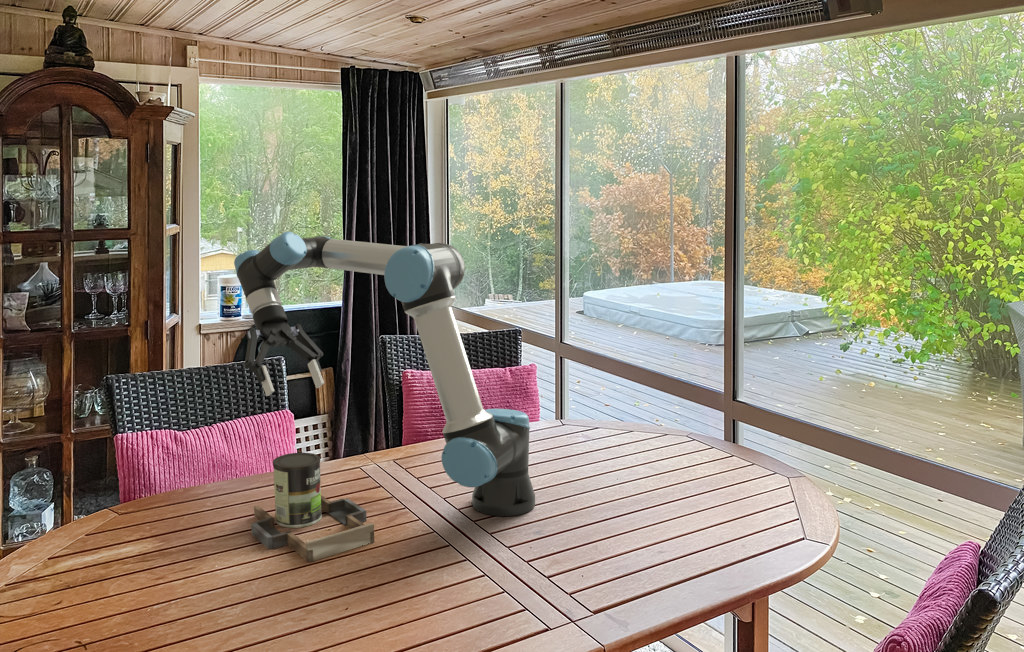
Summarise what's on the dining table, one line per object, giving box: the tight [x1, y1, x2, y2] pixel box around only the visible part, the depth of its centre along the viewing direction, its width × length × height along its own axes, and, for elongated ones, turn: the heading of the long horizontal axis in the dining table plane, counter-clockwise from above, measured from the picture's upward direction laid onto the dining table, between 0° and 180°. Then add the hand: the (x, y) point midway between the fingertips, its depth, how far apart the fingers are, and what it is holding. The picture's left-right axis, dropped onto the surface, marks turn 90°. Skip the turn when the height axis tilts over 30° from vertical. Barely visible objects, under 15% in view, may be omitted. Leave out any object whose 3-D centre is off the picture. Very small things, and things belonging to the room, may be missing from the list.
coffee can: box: [272, 452, 323, 529], centre depth 176 cm, size 10×10×14 cm
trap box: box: [250, 495, 375, 563], centre depth 171 cm, size 28×23×4 cm
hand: (296, 389), depth 183 cm, fingers open, 13 cm apart
